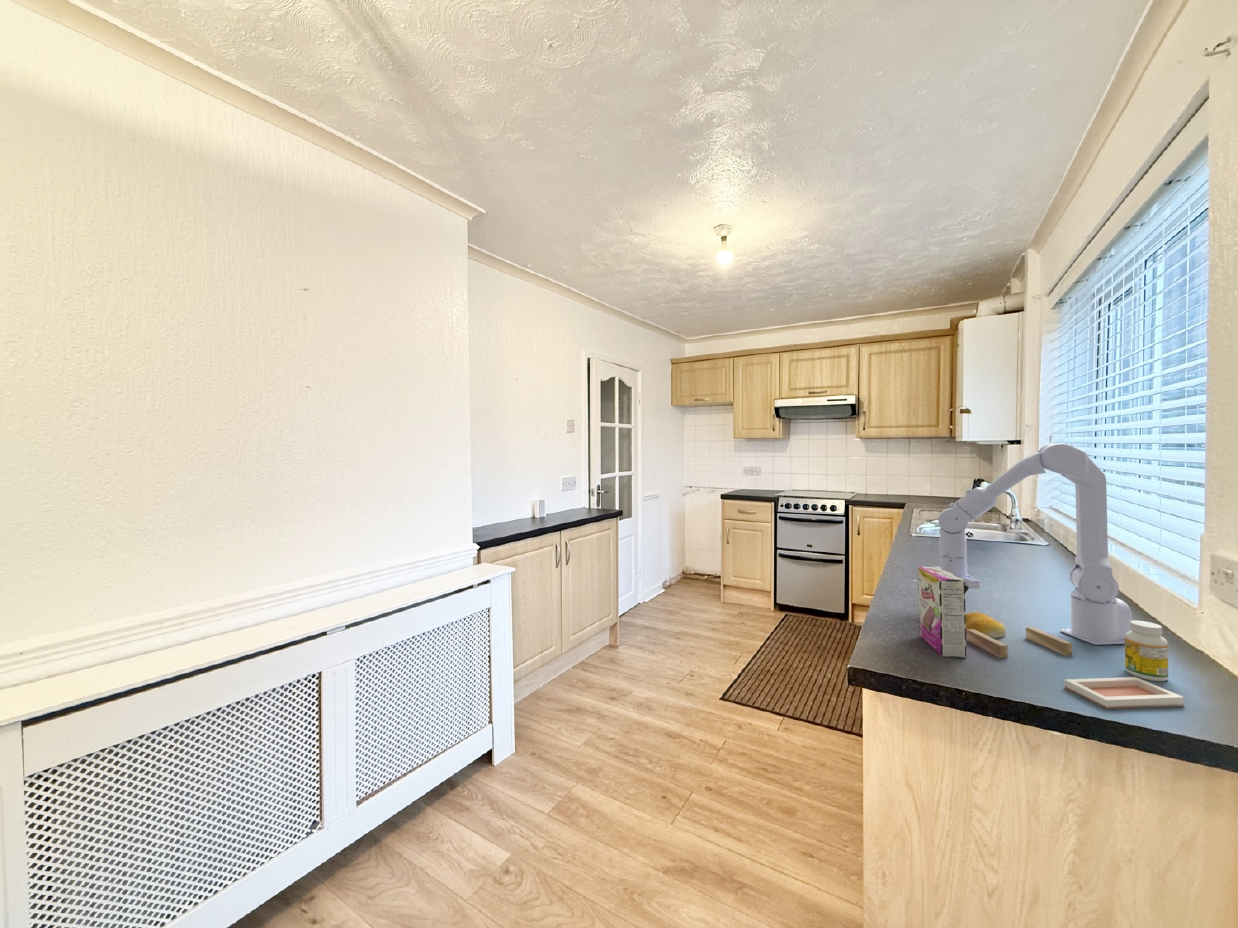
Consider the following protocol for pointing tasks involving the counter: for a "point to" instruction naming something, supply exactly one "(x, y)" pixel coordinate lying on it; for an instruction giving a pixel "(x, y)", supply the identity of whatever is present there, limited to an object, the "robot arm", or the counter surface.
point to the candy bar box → (942, 611)
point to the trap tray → (1123, 693)
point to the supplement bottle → (1146, 651)
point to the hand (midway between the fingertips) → (953, 609)
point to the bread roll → (984, 625)
